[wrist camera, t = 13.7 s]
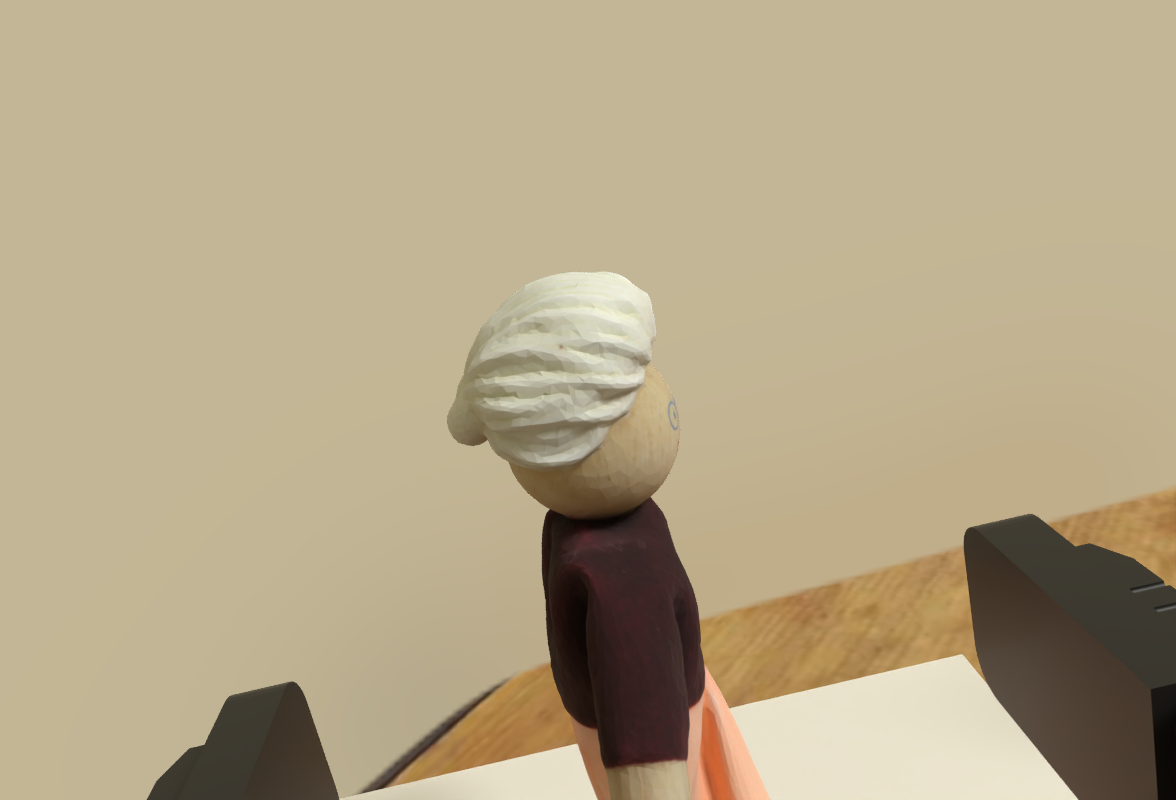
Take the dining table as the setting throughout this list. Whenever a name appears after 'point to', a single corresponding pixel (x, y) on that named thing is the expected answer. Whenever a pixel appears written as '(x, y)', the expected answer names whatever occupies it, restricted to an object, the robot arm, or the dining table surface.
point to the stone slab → (827, 748)
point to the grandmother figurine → (606, 533)
